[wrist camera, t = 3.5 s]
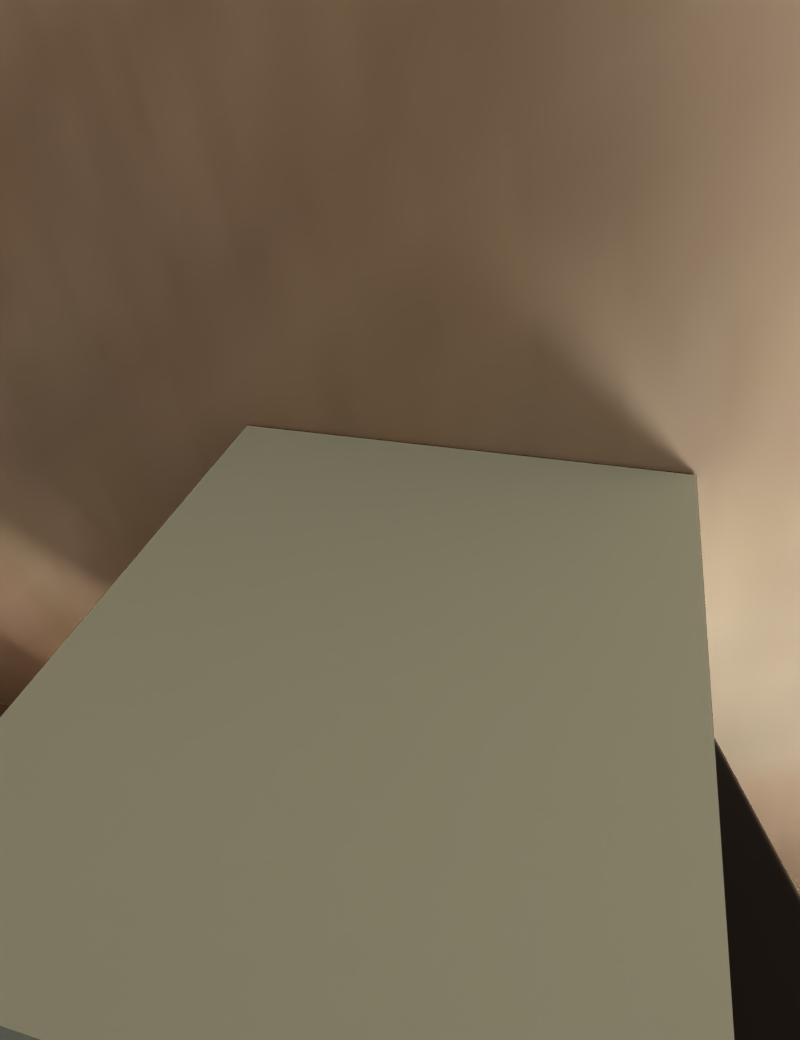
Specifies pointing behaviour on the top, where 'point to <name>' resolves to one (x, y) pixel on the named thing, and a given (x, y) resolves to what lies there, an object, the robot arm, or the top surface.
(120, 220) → the top surface
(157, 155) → the top surface
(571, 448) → the top surface
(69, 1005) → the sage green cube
